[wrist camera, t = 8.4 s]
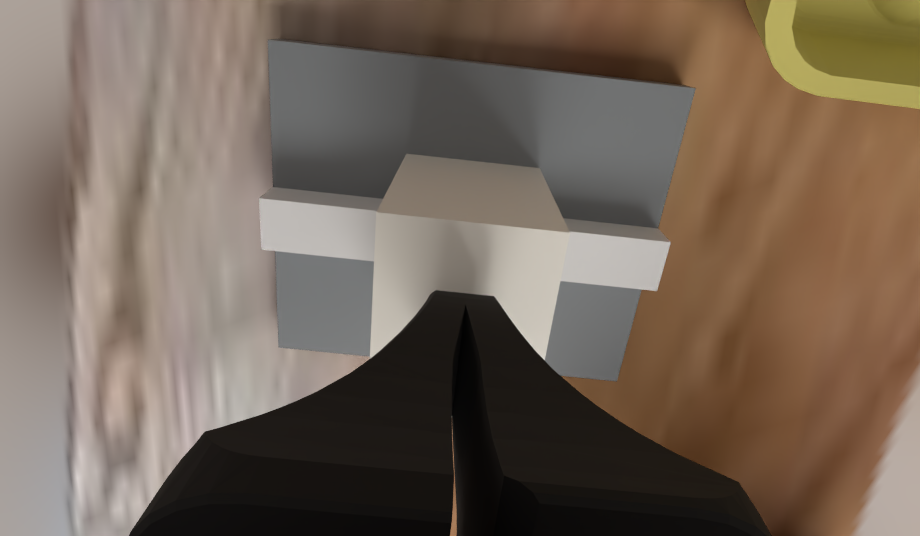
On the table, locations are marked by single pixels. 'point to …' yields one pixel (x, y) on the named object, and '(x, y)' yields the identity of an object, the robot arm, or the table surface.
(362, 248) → the rail board
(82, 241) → the table surface
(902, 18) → the plastic component
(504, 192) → the block
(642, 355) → the table surface
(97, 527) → the table surface
